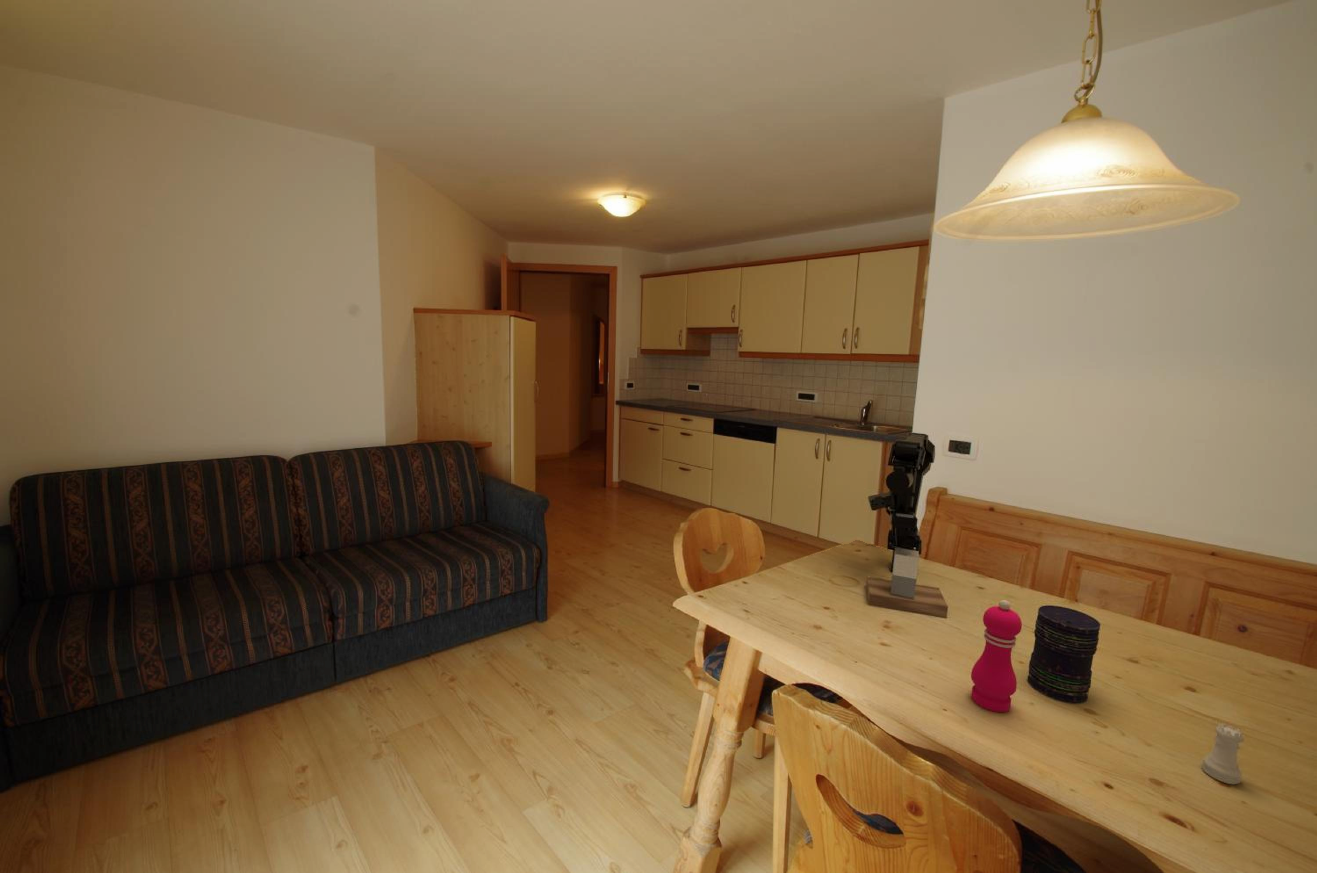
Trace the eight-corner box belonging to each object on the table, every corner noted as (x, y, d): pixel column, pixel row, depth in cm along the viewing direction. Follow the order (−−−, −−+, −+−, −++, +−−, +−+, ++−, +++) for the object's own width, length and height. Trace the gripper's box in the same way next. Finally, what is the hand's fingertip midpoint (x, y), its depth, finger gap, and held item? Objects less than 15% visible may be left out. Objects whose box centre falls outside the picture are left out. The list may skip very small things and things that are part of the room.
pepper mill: (960, 689, 106) (974, 590, 103) (998, 691, 106) (1013, 593, 103) (981, 713, 99) (996, 608, 96) (1022, 715, 99) (1038, 610, 96)
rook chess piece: (1209, 780, 85) (1220, 733, 84) (1194, 761, 89) (1203, 716, 88) (1247, 789, 83) (1258, 742, 82) (1229, 769, 88) (1240, 724, 86)
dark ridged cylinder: (1027, 668, 115) (1038, 600, 112) (1086, 686, 109) (1099, 615, 107) (1025, 690, 107) (1037, 618, 104) (1089, 711, 101) (1103, 635, 99)
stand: (866, 587, 152) (867, 577, 152) (937, 598, 147) (938, 587, 147) (868, 605, 141) (870, 594, 140) (946, 618, 136) (948, 606, 135)
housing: (890, 587, 146) (895, 547, 144) (913, 591, 143) (918, 551, 142) (890, 595, 140) (895, 553, 139) (914, 599, 138) (919, 558, 137)
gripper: (869, 476, 161) (863, 527, 163) (874, 490, 143) (868, 547, 146) (910, 480, 158) (904, 533, 160) (921, 495, 140) (913, 554, 142)
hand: (896, 541), depth 152 cm, fingers open, 9 cm apart
